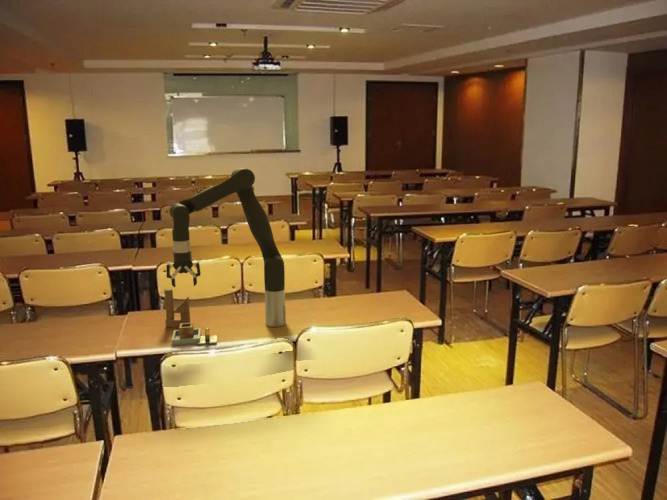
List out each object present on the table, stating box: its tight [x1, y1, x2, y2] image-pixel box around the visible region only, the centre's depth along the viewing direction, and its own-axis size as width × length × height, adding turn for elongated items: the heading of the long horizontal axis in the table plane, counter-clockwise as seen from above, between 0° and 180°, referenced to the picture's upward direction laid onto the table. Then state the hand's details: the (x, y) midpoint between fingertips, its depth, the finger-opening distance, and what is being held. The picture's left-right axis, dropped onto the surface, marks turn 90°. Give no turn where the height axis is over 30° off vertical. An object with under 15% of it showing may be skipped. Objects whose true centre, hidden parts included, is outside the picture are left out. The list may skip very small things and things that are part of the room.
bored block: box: [178, 322, 195, 339], centre depth 245 cm, size 6×6×6 cm
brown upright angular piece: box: [164, 288, 191, 328], centre depth 260 cm, size 4×11×18 cm, turn 90°
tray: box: [171, 328, 202, 346], centre depth 246 cm, size 12×12×2 cm
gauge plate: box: [197, 327, 218, 347], centre depth 243 cm, size 8×8×6 cm
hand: (184, 286), depth 245 cm, fingers open, 8 cm apart
